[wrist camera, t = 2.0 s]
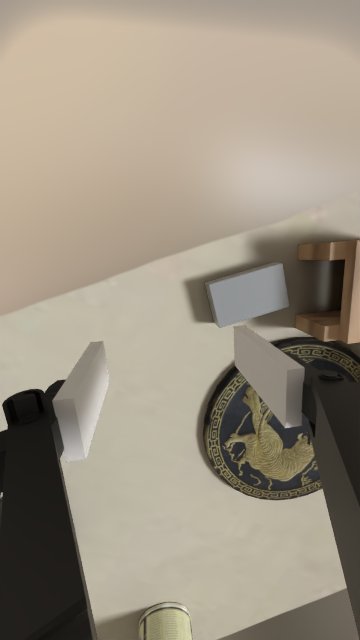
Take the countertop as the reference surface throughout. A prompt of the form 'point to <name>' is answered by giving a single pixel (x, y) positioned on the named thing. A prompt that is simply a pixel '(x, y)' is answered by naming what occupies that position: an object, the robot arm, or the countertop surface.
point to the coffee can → (165, 623)
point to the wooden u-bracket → (356, 311)
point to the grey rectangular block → (247, 294)
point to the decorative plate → (268, 429)
